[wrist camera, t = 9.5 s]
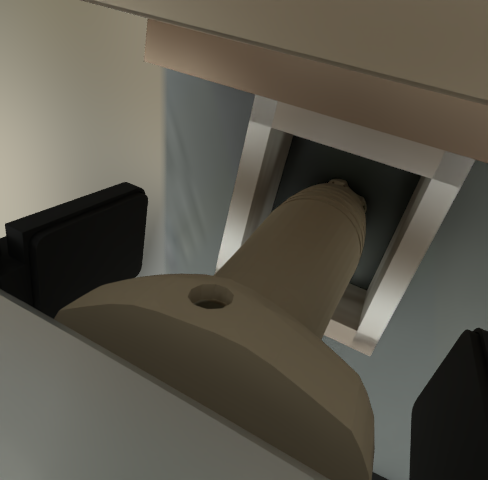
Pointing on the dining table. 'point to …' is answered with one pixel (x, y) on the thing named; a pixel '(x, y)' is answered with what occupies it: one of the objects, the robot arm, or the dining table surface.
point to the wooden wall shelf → (341, 107)
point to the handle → (256, 332)
